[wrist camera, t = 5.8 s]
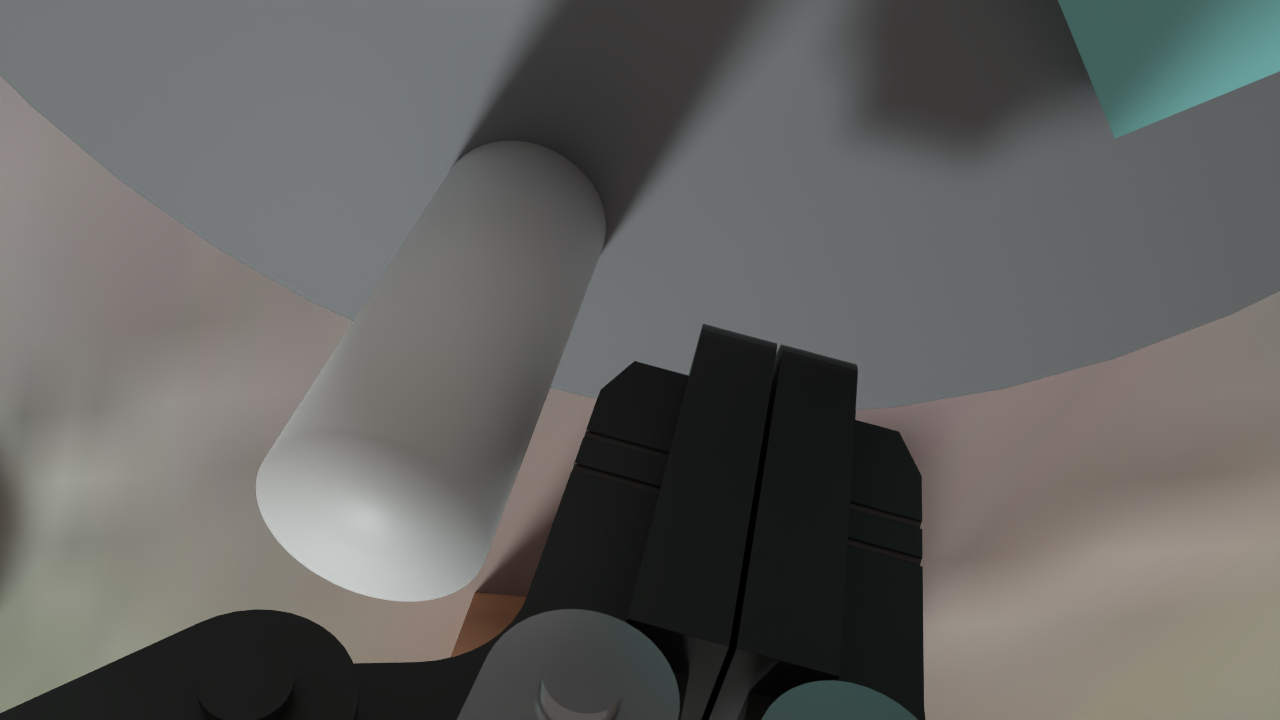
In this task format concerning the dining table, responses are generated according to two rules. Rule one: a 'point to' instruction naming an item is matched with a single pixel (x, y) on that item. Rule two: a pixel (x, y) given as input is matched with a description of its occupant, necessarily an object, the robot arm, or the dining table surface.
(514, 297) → the disc
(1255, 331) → the dining table surface
